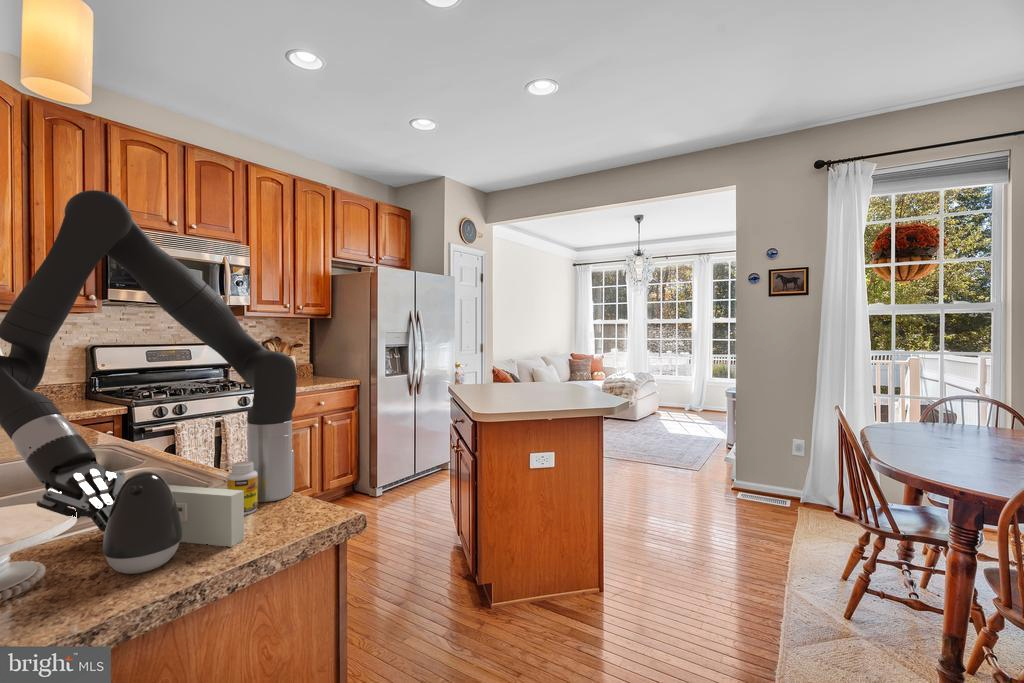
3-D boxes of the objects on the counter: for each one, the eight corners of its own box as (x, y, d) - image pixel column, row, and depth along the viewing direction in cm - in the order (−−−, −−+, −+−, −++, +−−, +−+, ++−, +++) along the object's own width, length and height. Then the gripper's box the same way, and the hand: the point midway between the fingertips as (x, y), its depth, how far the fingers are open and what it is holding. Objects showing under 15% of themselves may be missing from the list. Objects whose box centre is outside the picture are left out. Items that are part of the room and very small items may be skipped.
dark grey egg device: (89, 587, 72) (88, 484, 72) (118, 556, 82) (118, 466, 81) (171, 576, 75) (171, 478, 75) (189, 548, 85) (189, 461, 85)
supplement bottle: (231, 519, 98) (231, 468, 98) (224, 511, 102) (223, 463, 102) (261, 512, 102) (261, 463, 102) (253, 505, 106) (252, 458, 106)
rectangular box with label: (123, 528, 93) (122, 481, 93) (243, 539, 89) (243, 490, 89) (105, 535, 90) (104, 487, 90) (229, 548, 85) (229, 496, 85)
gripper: (19, 442, 74) (86, 530, 72) (107, 426, 87) (165, 500, 85) (-8, 474, 75) (57, 562, 73) (82, 453, 88) (139, 527, 86)
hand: (115, 528), depth 79 cm, fingers closed
